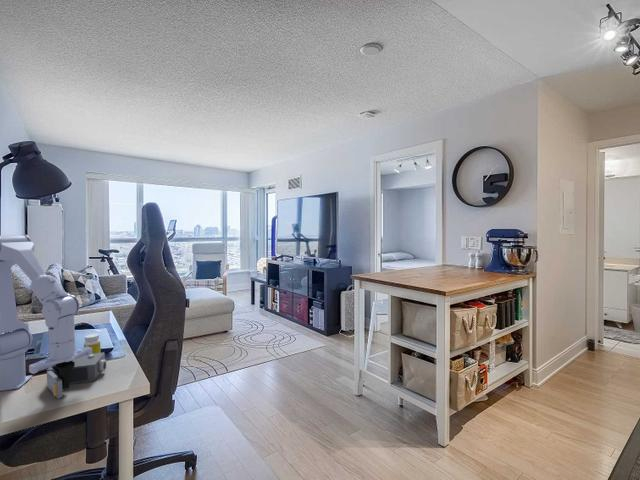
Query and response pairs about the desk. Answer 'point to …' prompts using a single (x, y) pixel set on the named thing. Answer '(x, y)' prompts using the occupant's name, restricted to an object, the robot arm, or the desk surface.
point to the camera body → (86, 368)
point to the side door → (54, 384)
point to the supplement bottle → (93, 343)
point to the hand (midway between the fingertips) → (63, 388)
